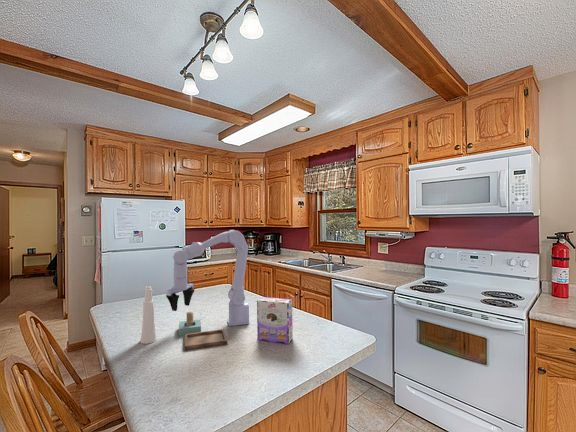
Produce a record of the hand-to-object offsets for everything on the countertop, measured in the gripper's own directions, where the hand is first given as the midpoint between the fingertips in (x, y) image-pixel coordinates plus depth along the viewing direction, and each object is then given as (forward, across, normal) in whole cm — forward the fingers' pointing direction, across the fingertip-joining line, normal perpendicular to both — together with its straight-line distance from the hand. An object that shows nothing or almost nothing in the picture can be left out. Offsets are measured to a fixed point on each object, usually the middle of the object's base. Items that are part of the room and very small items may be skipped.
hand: (180, 307), depth 126 cm
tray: (+10, +4, +17) cm, 20 cm away
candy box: (+11, -8, +42) cm, 44 cm away
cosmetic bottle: (+10, +13, -5) cm, 17 cm away
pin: (+10, -1, +4) cm, 11 cm away
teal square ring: (+10, -1, +4) cm, 11 cm away
